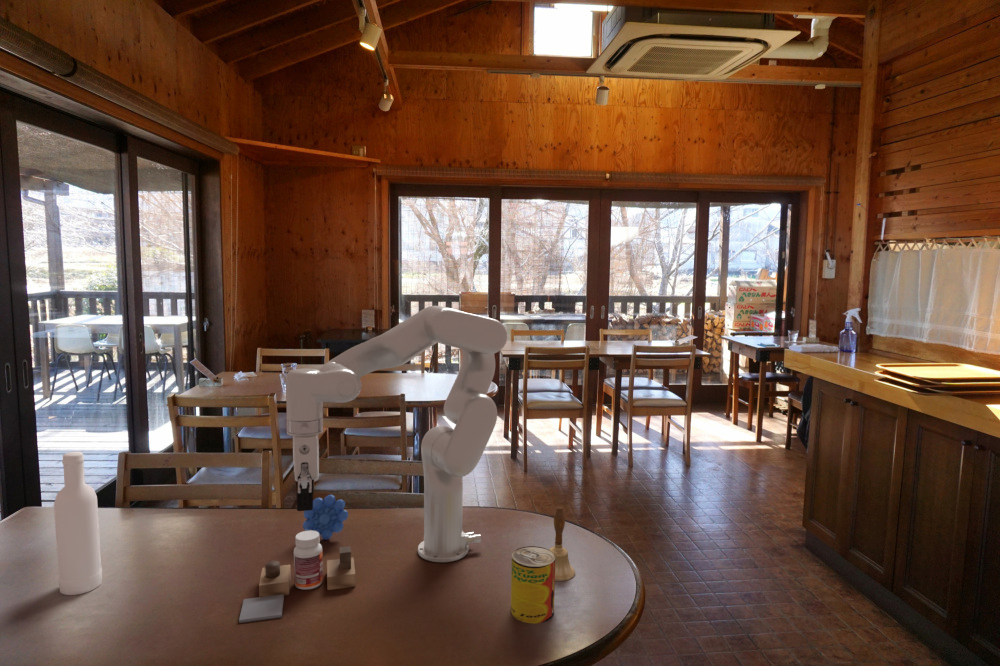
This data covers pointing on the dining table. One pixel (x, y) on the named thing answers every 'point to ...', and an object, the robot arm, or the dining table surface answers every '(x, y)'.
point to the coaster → (261, 608)
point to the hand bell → (561, 550)
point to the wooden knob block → (279, 577)
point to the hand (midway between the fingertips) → (305, 501)
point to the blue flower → (325, 516)
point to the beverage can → (532, 584)
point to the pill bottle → (308, 560)
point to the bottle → (77, 530)
